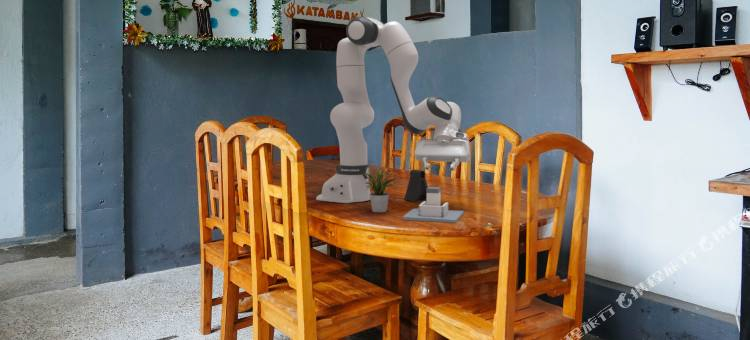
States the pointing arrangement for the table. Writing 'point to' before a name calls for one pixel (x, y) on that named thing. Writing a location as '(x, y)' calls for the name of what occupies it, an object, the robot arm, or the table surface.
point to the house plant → (379, 191)
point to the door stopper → (416, 187)
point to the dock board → (433, 214)
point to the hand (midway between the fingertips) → (439, 169)
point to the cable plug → (434, 196)
